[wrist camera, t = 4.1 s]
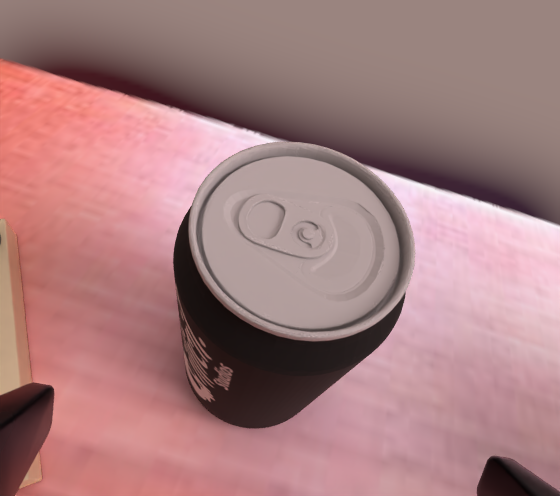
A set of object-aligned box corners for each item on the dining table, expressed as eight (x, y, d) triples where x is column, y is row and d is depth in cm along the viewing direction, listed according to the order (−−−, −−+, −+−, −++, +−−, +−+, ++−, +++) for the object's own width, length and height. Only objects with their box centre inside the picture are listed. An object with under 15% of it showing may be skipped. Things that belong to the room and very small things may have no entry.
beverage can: (296, 452, 19) (411, 404, 9) (160, 399, 19) (114, 290, 9) (332, 323, 22) (445, 179, 12) (217, 279, 22) (232, 100, 12)
